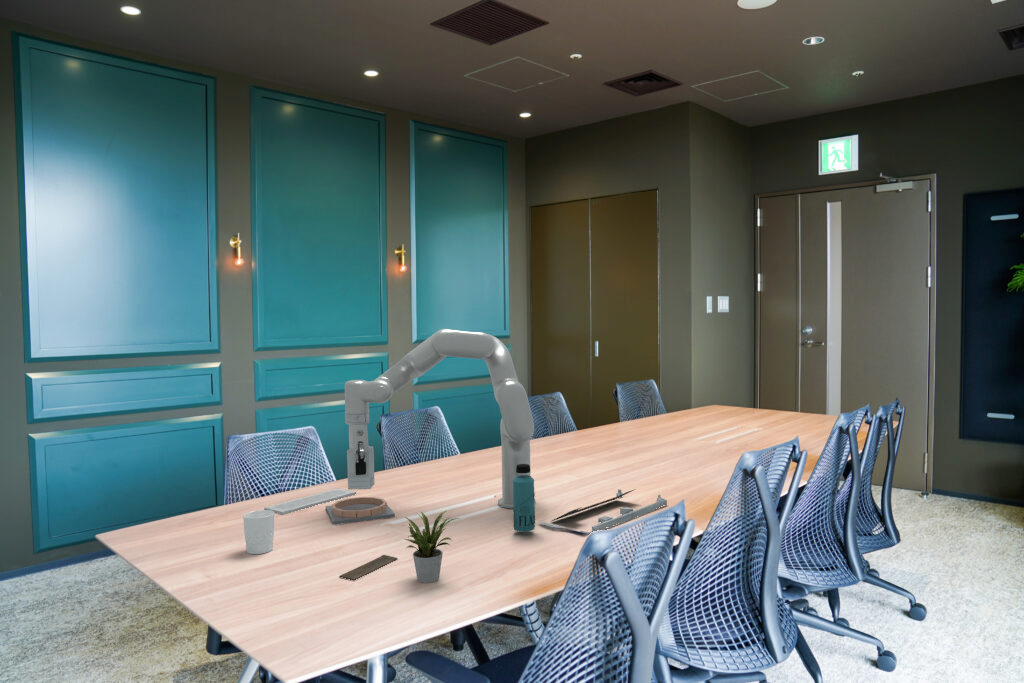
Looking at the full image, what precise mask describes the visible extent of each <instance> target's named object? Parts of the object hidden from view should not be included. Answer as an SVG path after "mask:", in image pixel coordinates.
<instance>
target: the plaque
mask: <svg viewBox="0 0 1024 683" xmlns="http://www.w3.org/2000/svg"><path fill="white" fill-rule="evenodd" d="M355 494H356V495H357V491H354V490H348V489H344V488H334V489H329V490H326V491H323V492H322V491H321V492H318V493H314V494H311V495H306V496H304V497H300V498H299V497H298V498H295V499H291V500H288V501H284V502H281V503H277V504H273V505H269V506H266V507H264V509H263V510H270V511H273V512H274V514H276V515H281V516H284V515H288V514H291V512H292V513H295V511H296V512H299V511H302V510H301V509H303V510H306V509H309V507H310V508H312V506H313V507H316V506H315V505H317V506H319V505H318V504H321V505H323V504H322V503H324V504H327V503H326V502H328V503H331V502H334V500H335V501H339V500H342V499H345V498H344V497H346V498H349V497H352V495H353V496H356V495H355ZM348 496H349V497H348ZM341 498H342V499H341ZM338 499H339V500H338ZM330 501H331V502H330ZM305 508H306V509H305ZM298 510H299V511H298Z"/></svg>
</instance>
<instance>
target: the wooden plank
mask: <svg viewBox="0 0 1024 683" xmlns="http://www.w3.org/2000/svg"><path fill="white" fill-rule="evenodd" d="M397 560H398V557H395V556H391V555H386V554H382V555H380V556H379V557H377V558H374V559H373V560H370V561H368V562H366V563H364V564H361V565H360V566H358V567H356V568H353V569H351V570H349V571H347V572H344V573H342V574H340V575H339V576H338V577H339V578H340V577H343V578H346V579H345V580H347V579H350V580H349V581H351V580H356V579H358V578H360V577H362V576H364V575H366V576H368V575H370V574H371V572H372V573H373V571H374V572H376V571H377V569H378V570H379V568H380V569H382V568H384V567H385V565H386V566H387V564H388V565H389V563H390V564H391V562H392V563H394V562H395V561H397ZM393 561H394V562H393ZM383 566H384V567H383ZM381 567H382V568H381ZM375 570H376V571H375ZM369 573H370V574H369ZM367 574H368V575H367ZM364 577H365V576H364ZM343 578H342V579H343ZM362 578H363V577H362ZM360 579H361V578H360ZM358 580H359V579H358ZM356 581H357V580H356Z"/></svg>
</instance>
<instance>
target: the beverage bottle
mask: <svg viewBox="0 0 1024 683" xmlns="http://www.w3.org/2000/svg"><path fill="white" fill-rule="evenodd" d="M516 472H517V473H529V472H530V473H531V464H530V465H529V464H518V465H517V466H516ZM535 495H536V492H535V479H534V477H532V476H531V475H530V476H529V475H518V476H516V477H515V478H514V479H513V508H512V512H513V513H512V514H513V516H512V520H513V521H512V522H513V523H512V524H513V525H512V526H513V530H514V531H516V532H521V533H522V532H523V533H527V532H528V533H529V532H531V531H534V530H535V528H536V505H534V502H535V500H536V498H535V497H536V496H535Z"/></svg>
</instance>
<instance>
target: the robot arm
mask: <svg viewBox="0 0 1024 683" xmlns="http://www.w3.org/2000/svg"><path fill="white" fill-rule="evenodd" d="M447 357H453V358H463V359H464V358H465V359H472V360H473V359H476V360H483V361H484V362H485V364H486V366H487V368H488V373H489V375H490V380H491V385H492V388H493V395H494V399H495V401H496V403H497V404H498V406H499V410H500V414H501V419H500V422H499V423H500V424H499V429H500V432H499V433H500V441H501V442H500V445H501V485H502V486H501V490H502V492H501V493H502V494H501V497H500V498H499V499H497V505H498V506H499V507H502V508H505V509H513V479H514V478H515V477H516V476H518V475H529V476H531V471H530V472H529V473H517V472H516V466H517V465H518V464H529V465H530V466H531V441H530V440H531V438H532V437H533V435H534V431H535V422H534V417H533V413H532V409H531V405H530V401H529V397H528V394H527V392H526V389H525V387H524V386H523V384H522V383H520V381H519V379H518V375H517V372H516V368H515V366H514V362H513V358H512V356H511V352H510V351H509V349H508V348H507V346H506V345H505V344H504V343H503V341H501V340H500V339H499V338H497V337H496V336H495V335H491V334H489V333H486V332H483V331H466V330H465V331H464V330H456V329H449V328H441V329H438V330H437V331H436V332H434V333H432V334H431V336H429V337H428V338H426V339H425V340H423V341H422V342H421V343H420V344H418V345H417V346H415V347H414V348H413V349H411V351H409V352H408V353H407V354H406V355H404V356H403V357H402V358H401V359H400V360H399V361H398V362H396V363H395V364H394V365H392V366H391V367H390V368H389V369H387V370H386V371H384V372H383V373H382V374H380V375H379V376H378V377H376V378H375V379H374V380H369V381H367V380H364V379H351V380H347V381H346V382H345V383H344V410H345V412H344V413H345V414H344V419H345V420H344V421H345V422H344V423H345V424H346V425H348V446H349V448H348V449H351V450H352V451H353V454H354V455H356V462H355V467H356V475H365V474H366V459H365V453H367V454H368V452H369V446H370V445H369V433H368V424H370V403H372V404H373V403H374V404H383V403H386V402H388V401H389V400H390V399H392V396H393V394H395V393H396V392H397V391H399V390H400V389H401V388H402V387H404V386H405V385H407V384H408V383H410V382H411V381H413V380H414V379H417V378H420V377H421V376H423V375H425V374H426V373H428V372H429V371H430V370H431V369H432V368H434V367H435V366H436V365H437V364H439V363H441V362H442V361H444V359H446V358H447ZM357 451H360V453H357ZM364 451H365V452H364ZM536 504H537V500H536V499H535V502H534V506H536Z"/></svg>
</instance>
